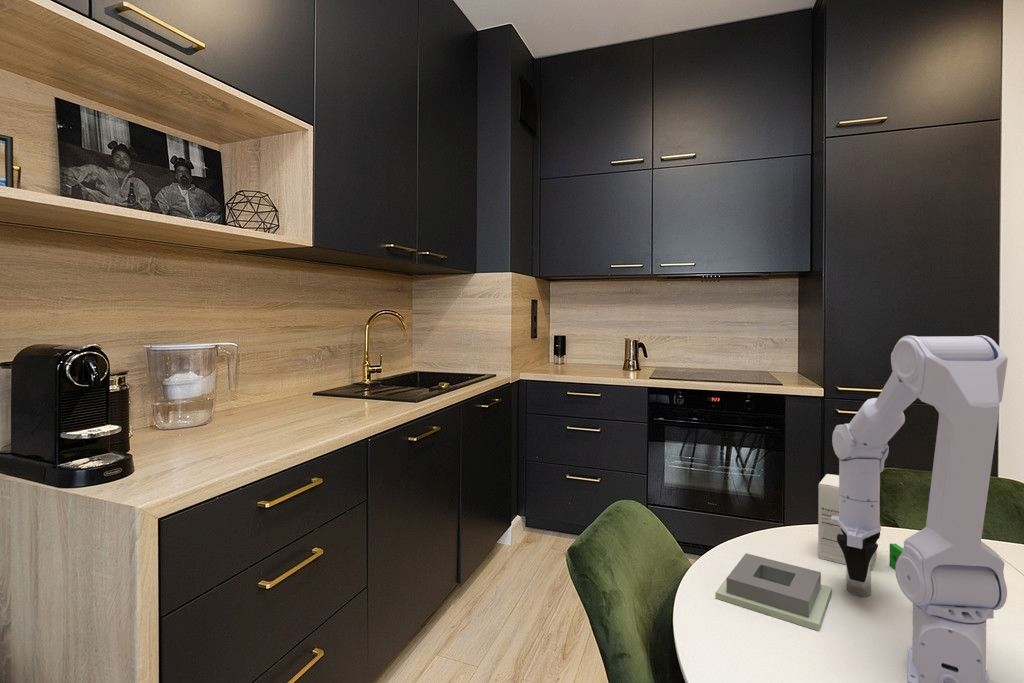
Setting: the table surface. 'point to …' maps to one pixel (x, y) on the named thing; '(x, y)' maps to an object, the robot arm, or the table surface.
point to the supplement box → (826, 528)
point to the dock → (777, 590)
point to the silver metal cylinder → (859, 585)
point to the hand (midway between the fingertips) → (858, 575)
